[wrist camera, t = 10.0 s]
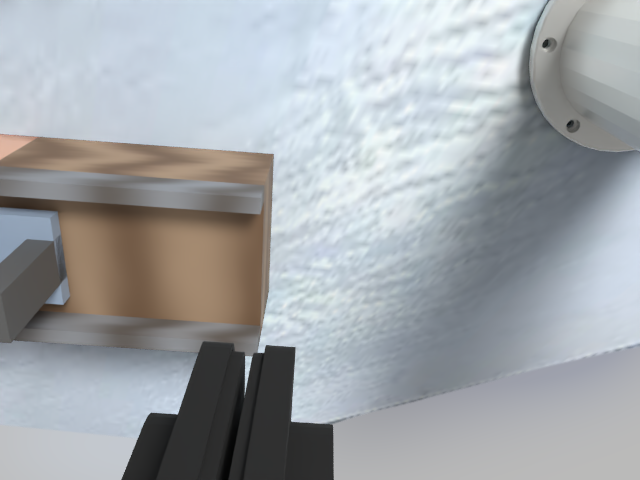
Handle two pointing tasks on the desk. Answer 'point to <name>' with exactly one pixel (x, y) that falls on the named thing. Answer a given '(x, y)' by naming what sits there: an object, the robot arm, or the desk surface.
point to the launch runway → (150, 242)
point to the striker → (29, 267)
